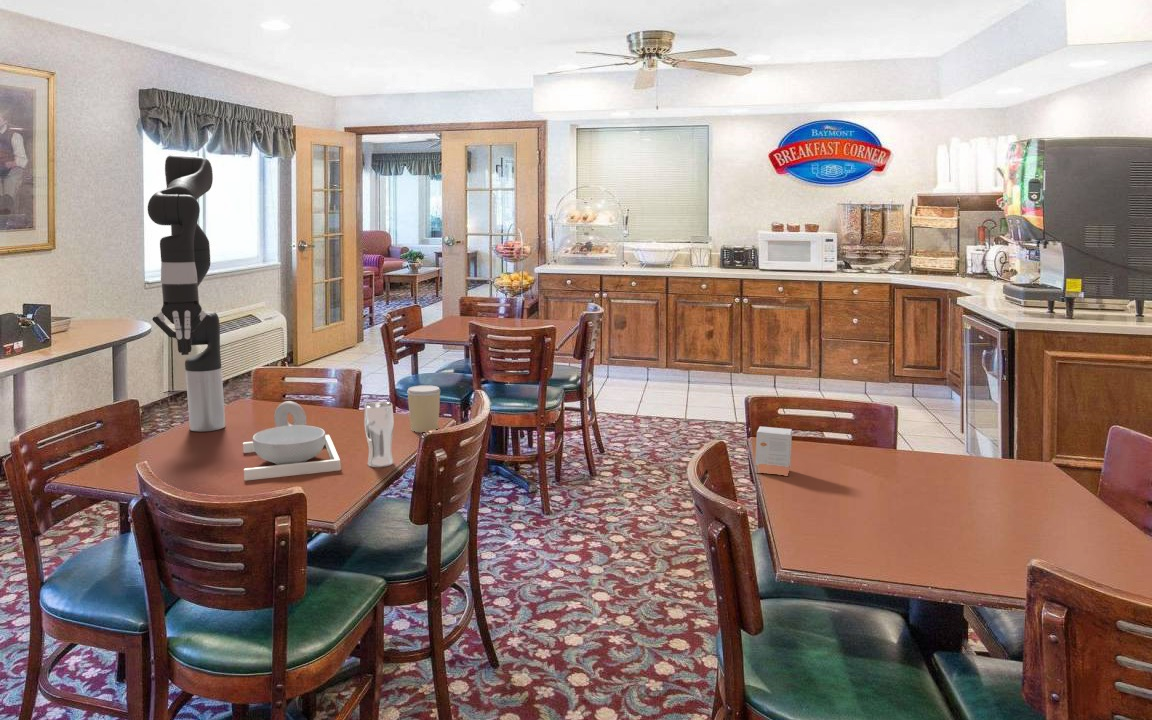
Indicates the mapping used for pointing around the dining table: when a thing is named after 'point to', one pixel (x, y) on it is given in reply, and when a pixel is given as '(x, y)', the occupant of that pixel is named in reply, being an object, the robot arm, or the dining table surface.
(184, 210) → the robot arm
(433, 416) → the coffee cup
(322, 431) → the cereal bowl
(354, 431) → the dining table surface
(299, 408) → the donut
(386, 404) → the beer glass
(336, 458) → the bowl bay
